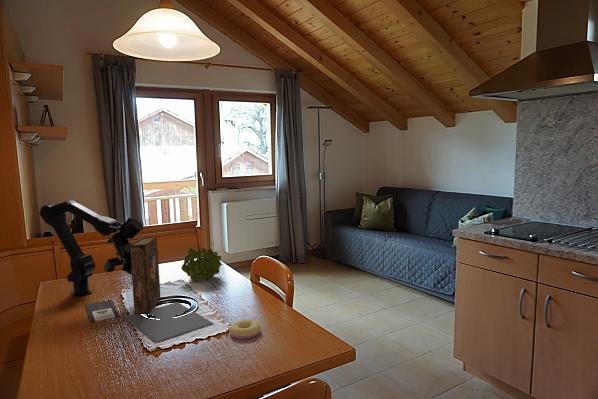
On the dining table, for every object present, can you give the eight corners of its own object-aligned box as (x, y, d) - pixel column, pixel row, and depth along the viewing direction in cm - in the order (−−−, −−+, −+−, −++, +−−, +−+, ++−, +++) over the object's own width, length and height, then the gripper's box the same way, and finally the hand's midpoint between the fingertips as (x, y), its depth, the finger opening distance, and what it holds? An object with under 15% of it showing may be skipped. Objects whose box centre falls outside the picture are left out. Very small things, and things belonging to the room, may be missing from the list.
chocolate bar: (111, 299, 160) (119, 315, 145) (111, 302, 160) (119, 317, 145) (85, 304, 155) (90, 321, 140) (85, 306, 156) (90, 323, 141)
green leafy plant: (200, 261, 199) (222, 241, 194) (210, 289, 191) (234, 269, 186) (171, 257, 184) (194, 235, 179) (181, 286, 176) (205, 265, 171)
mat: (124, 317, 144) (124, 316, 144) (177, 303, 158) (177, 302, 158) (155, 343, 125) (155, 341, 125) (213, 324, 139) (213, 322, 139)
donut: (227, 337, 134) (236, 345, 126) (224, 324, 134) (233, 331, 125) (255, 326, 138) (266, 333, 130) (252, 313, 138) (263, 319, 130)
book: (149, 314, 146) (144, 244, 144) (133, 314, 146) (128, 245, 143) (160, 298, 162) (156, 236, 160) (146, 299, 162) (142, 236, 159)
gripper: (105, 238, 151) (122, 272, 145) (151, 229, 165) (168, 261, 160) (97, 255, 157) (113, 289, 151) (142, 246, 171) (158, 277, 166)
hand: (139, 278), depth 157 cm, fingers closed
